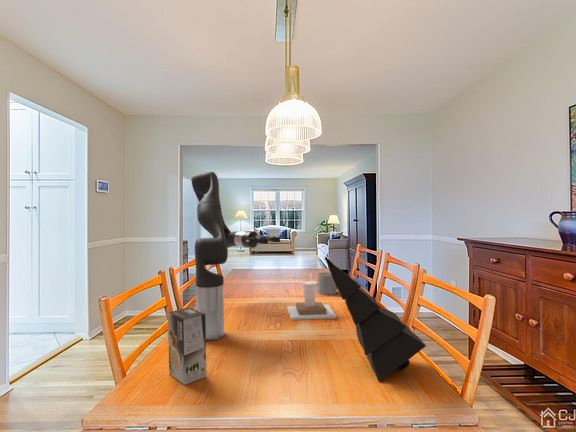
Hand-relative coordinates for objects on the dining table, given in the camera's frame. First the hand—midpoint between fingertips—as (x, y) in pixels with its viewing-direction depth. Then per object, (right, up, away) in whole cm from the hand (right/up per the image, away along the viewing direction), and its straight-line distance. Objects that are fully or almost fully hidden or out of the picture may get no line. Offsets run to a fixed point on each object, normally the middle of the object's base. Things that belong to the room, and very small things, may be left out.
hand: (273, 240), depth 144 cm
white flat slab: (+15, -30, -6) cm, 34 cm away
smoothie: (+15, -27, -6) cm, 32 cm away
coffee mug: (+28, -30, +29) cm, 50 cm away
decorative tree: (+28, -30, -56) cm, 70 cm away
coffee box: (-20, -30, -59) cm, 69 cm away
